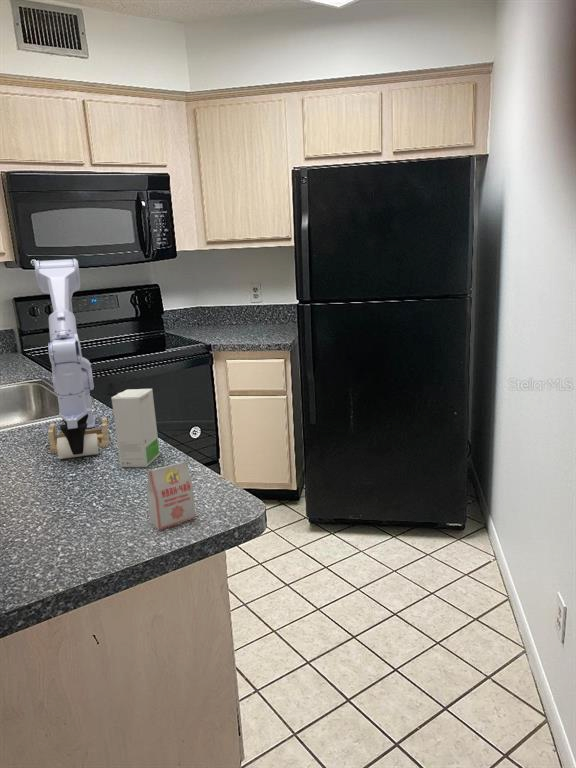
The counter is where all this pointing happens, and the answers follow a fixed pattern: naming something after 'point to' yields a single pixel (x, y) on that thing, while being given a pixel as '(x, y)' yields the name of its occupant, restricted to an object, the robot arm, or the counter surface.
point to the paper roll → (89, 449)
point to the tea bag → (170, 495)
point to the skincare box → (135, 427)
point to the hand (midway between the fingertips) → (78, 449)
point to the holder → (101, 436)
